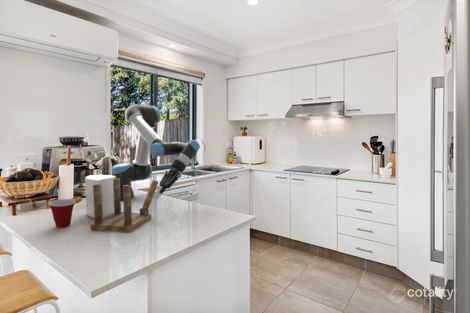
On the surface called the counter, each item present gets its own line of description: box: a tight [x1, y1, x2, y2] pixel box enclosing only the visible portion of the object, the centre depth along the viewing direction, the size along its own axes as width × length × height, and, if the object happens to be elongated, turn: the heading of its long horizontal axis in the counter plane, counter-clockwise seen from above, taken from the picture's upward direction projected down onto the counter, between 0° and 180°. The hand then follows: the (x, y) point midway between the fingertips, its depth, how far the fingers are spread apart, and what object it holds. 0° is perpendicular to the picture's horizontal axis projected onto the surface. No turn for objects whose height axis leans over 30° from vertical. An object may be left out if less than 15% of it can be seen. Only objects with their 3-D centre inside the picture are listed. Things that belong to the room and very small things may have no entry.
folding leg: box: [140, 179, 159, 210], centre depth 139 cm, size 3×3×16 cm
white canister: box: [84, 174, 116, 220], centre depth 144 cm, size 15×14×22 cm
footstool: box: [89, 178, 152, 233], centre depth 130 cm, size 20×20×21 cm
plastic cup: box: [48, 198, 76, 229], centre depth 127 cm, size 11×11×12 cm
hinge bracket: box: [139, 207, 150, 216], centre depth 137 cm, size 2×5×3 cm, turn 46°
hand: (155, 197), depth 140 cm, fingers closed
